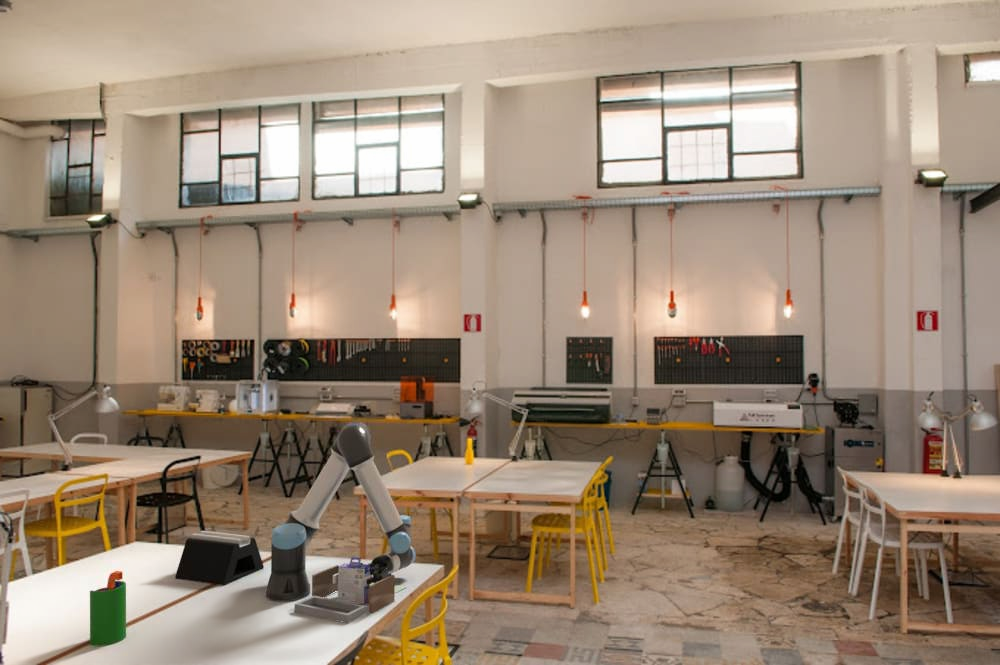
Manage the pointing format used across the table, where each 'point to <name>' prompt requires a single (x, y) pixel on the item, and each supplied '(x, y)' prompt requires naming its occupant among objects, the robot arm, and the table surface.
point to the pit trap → (330, 609)
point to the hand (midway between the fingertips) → (346, 581)
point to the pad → (396, 588)
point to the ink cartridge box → (353, 582)
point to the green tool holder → (108, 612)
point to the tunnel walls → (378, 591)
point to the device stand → (218, 558)
